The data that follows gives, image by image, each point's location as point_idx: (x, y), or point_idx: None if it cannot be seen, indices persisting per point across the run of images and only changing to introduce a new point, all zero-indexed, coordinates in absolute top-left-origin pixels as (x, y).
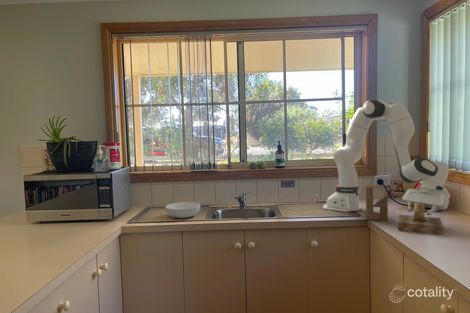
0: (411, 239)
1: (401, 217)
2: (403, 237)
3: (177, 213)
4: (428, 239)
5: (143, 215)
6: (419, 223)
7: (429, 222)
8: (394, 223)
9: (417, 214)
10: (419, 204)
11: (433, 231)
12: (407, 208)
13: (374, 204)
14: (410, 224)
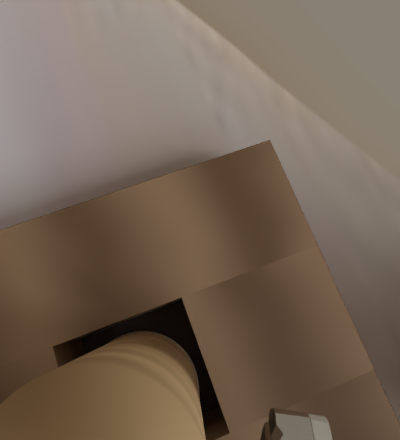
0: (99, 38)
1: (346, 378)
2: (156, 46)
3: None
4: (6, 105)
5: None
6: (94, 237)
7: (17, 357)
8: (390, 388)
9: (133, 338)
10: (58, 402)
11: None
12: (328, 431)
13: None
14: (163, 177)
